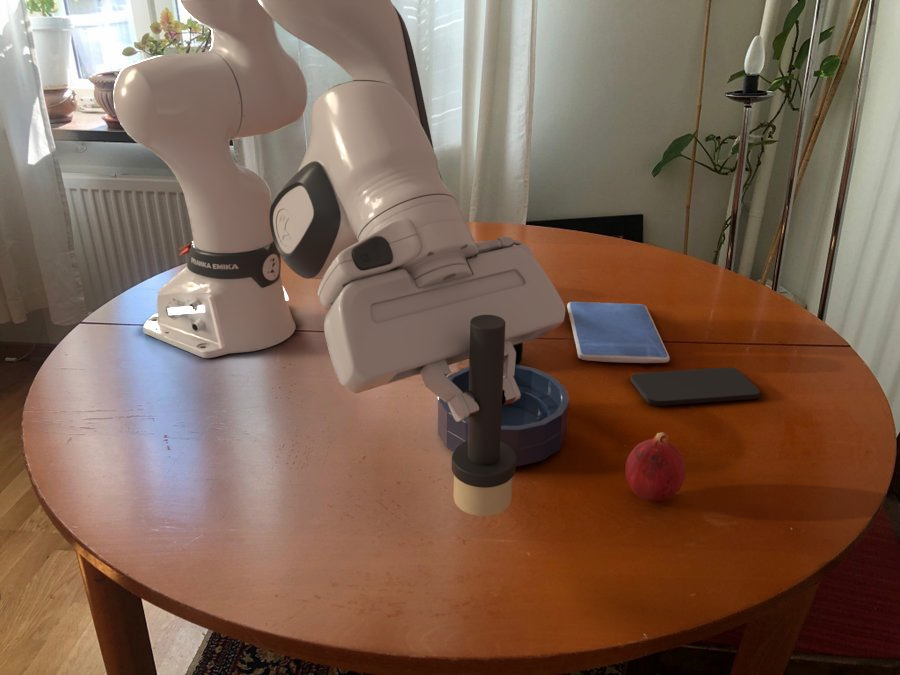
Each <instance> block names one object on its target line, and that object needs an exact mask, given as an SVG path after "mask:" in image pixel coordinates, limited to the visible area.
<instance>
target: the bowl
mask: <svg viewBox="0 0 900 675" xmlns="http://www.w3.org/2000/svg"><path fill="white" fill-rule="evenodd" d="M446 377H447V378H448V379H449V380H450V381H452V382H453V383H454V384H455V385H456V386H457V387H458V388H459V389H460V390H461V391H462V392H463V393H464V392H467V391H469V366H466V367H464V368H461V369H459V370H457V371H455V372H453V373H450V374H448V375H447V376H446ZM513 377H514V379H515V382H516V384H517V386H518V388H519V391H520V394H521V396H520V398H519V399H518V400H516V401H515V402H513V403H510V404H507V405H504V406H502V417H501V440H500V442H502V443H504V444H506V445H507V446H509V447H510V448H511V449H512V450H513V451H514V453H515V456H516V466H515V468H516V467H522V466H527V465H530V464H534V463H535V464H536V463H538V462H539V463H540V462H542V461H544V460H546V459H548V458H549V457H551V456H552V455H554V454H555V453H558V451H560V449H561V448H562V446H563V444H564V442H565V440H566V438H567V434H568V433H567V432H568V422H569V412H570V397H569V392H568V390H567V388H566V387H565V386H564V385H563V384H562V383H561V382H560V381H559V380H558V379H557V378H556V377H555V376H553V375H551V374H550V373H546V372H544V371H542V370H540V369H538V368H535V367H531V366H527V365H521V364H518V365H517V364H515V372H514V376H513ZM437 435H438V437H439V438H440V439H441V440H440V441H442V443H443V444H444V446H445V447H446V448H447V450H449V451H451V452H453V451H454V449H455V448H456V447H457V446H458V445H460V444H461V443H463V442H465V441H468V419H465V420H462V421H459V422H457V421H455V419H454V417H453V415H452V413H451V410H450V408H449V406H448V403H447V402H444V401H443V400H442V399H441V398H439V397H438V396H437Z"/></svg>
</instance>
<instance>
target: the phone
mask: <svg viewBox="0 0 900 675" xmlns="http://www.w3.org/2000/svg"><path fill="white" fill-rule="evenodd" d="M630 382H631V384H632V385H633V387H635V389H636V390H637V392H638V393H639V394H640V395H641V397H642V398H643V399H644V400H645V401H646V403H648V404H649V405H651V406H654V407H664V406H677V405H678V406H679V405H690V404H691V405H692V404H705V403H718V402H720V403H721V402H730V401H731V402H732V401H746V400H756V399H758V398H760V395H761V390H760V389H759V388H758V387H757V386H756V385H755V384H754V383H753V382H751V381H750V380H749V379H748V378H747V376H746V375H744V373H742V372H741V371H740V370H738V369H737V368H735V367H731V366H730V367H729V366H728V367H727V366H726V367H710V368H697V369H682V370H681V369H680V370H664V371H648V372H636V373H632V374H631V378H630Z"/></svg>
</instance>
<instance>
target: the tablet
mask: <svg viewBox="0 0 900 675" xmlns="http://www.w3.org/2000/svg"><path fill="white" fill-rule="evenodd" d="M566 308H567V312H568V316H569V321H570V325H571V329H572V335H573V339H574V344H575V348H576V353H577V357H578V359H580V360H582V361H586V362H587V361H588V362H590V361H591V362H601V363H603V362H604V363H623V364H624V363H625V364H627V363H628V364H664V363H665V364H666V363H669V362H670V360H671V357H670V354H669V352H668V351H667V348H666V346H665V344H664V342H663V340H662V337H661V335H660V333H659V330H658V329H657V327H656V324H655V321H654V319H653V318H652V315H651V313H650V312H649V309H648V307H647V306H646V305H645V304H642V303H623V302H622V303H620V302H619V303H617V302H594V301H593V302H591V301H588V302H587V301H570V302H568V303H567V304H566Z"/></svg>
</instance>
